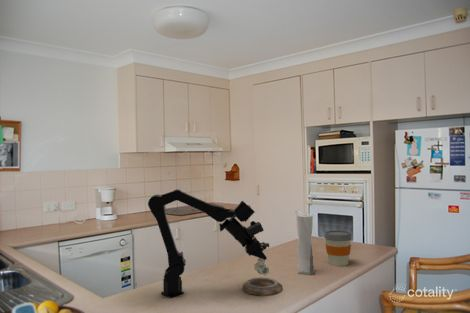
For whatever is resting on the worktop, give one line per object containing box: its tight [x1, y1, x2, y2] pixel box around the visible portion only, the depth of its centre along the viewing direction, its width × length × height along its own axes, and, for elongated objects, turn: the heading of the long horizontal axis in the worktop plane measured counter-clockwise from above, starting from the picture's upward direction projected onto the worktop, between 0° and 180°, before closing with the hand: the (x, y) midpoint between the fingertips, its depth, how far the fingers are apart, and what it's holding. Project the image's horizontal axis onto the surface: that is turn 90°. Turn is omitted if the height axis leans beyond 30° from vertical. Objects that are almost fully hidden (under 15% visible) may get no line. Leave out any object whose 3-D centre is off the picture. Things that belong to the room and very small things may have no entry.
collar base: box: [241, 276, 283, 297], centre depth 152 cm, size 16×16×2 cm
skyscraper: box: [295, 210, 317, 276], centre depth 173 cm, size 8×8×28 cm
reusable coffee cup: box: [324, 230, 352, 267], centre depth 186 cm, size 13×13×15 cm
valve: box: [253, 241, 270, 276], centre depth 152 cm, size 7×7×12 cm
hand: (264, 257), depth 152 cm, fingers closed on valve, 5 cm apart
